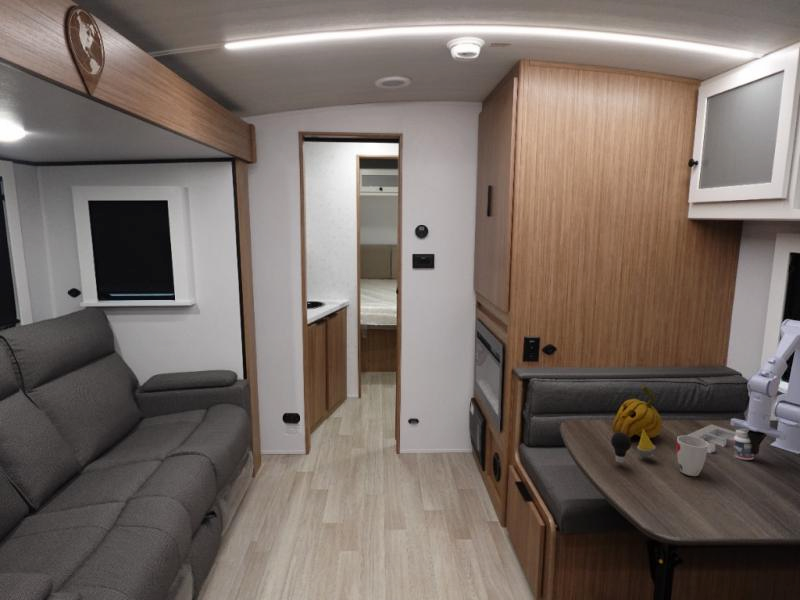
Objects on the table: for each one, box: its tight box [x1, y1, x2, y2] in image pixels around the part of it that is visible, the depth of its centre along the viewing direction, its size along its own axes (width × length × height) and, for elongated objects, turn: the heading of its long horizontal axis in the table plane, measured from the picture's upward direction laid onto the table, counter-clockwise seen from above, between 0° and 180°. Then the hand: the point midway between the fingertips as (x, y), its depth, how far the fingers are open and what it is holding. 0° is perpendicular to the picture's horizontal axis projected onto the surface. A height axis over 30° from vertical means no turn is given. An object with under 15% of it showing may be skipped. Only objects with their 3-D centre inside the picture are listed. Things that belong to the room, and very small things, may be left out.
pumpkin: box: [611, 384, 663, 439], centre depth 171 cm, size 14×16×20 cm
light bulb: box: [610, 432, 632, 464], centre depth 151 cm, size 6×6×10 cm
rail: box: [685, 424, 736, 454], centre depth 168 cm, size 20×9×2 cm, turn 123°
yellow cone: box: [636, 429, 657, 459], centre depth 155 cm, size 5×5×10 cm
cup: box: [676, 435, 708, 477], centre depth 146 cm, size 8×8×10 cm
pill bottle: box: [733, 428, 755, 461], centre depth 156 cm, size 5×5×9 cm
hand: (754, 453), depth 153 cm, fingers closed, pressing on pill bottle
